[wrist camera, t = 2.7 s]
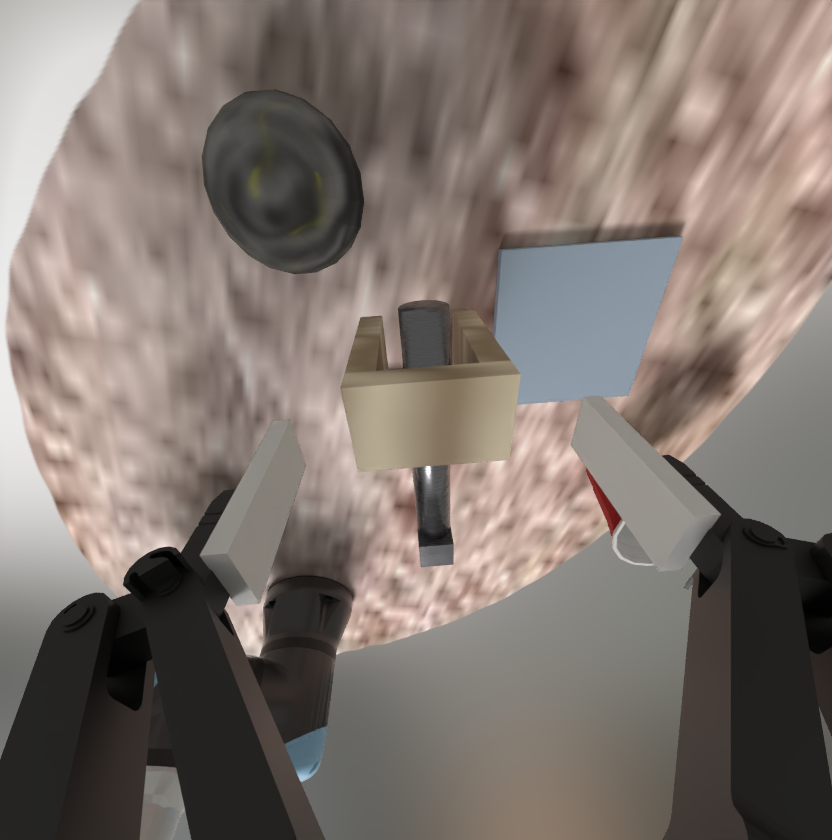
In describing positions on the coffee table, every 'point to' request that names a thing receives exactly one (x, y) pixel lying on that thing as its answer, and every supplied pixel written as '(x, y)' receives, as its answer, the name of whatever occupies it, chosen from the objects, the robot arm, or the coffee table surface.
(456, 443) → the wooden u-bracket
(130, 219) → the coffee table surface
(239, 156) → the decorative stone
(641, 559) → the plastic cup
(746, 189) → the coffee table surface
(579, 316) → the mat
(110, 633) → the robot arm
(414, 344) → the stand
